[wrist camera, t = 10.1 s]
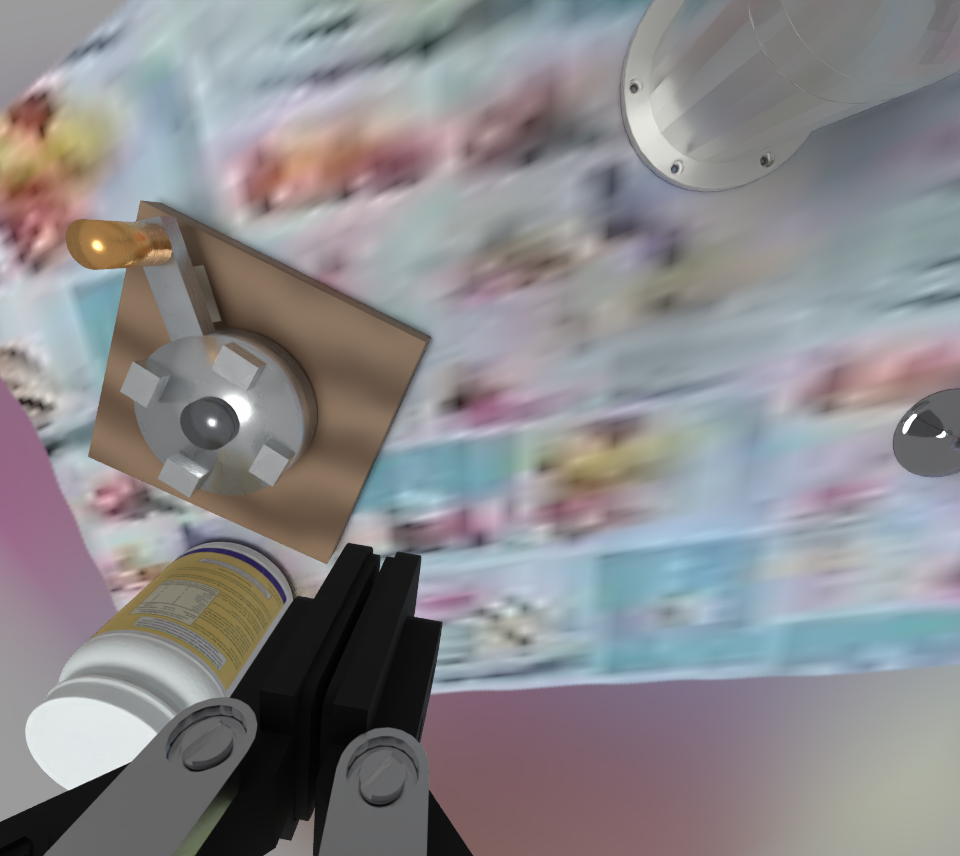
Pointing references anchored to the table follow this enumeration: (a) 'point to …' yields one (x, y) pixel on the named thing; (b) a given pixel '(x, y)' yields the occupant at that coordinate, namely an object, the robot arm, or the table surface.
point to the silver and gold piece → (202, 372)
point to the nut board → (315, 347)
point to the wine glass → (930, 436)
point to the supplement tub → (158, 660)
